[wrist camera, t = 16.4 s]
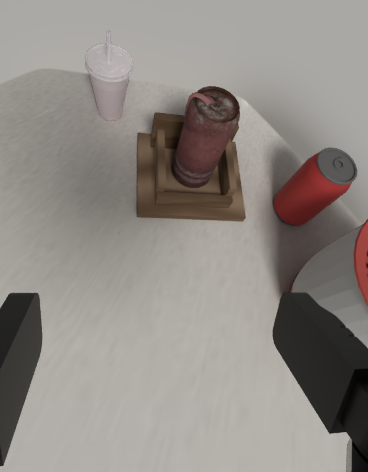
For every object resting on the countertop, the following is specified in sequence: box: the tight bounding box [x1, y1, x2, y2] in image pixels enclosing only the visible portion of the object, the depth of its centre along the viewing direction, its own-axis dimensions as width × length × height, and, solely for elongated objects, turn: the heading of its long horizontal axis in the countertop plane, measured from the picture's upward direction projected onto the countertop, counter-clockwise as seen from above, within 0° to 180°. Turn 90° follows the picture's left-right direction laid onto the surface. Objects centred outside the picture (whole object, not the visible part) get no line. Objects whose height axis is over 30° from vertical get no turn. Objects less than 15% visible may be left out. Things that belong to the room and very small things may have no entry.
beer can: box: [274, 148, 357, 225], centre depth 46 cm, size 7×7×12 cm
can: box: [172, 86, 240, 188], centre depth 42 cm, size 6×6×14 cm
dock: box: [137, 113, 245, 221], centre depth 46 cm, size 14×16×7 cm
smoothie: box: [85, 30, 133, 121], centre depth 45 cm, size 6×6×14 cm
